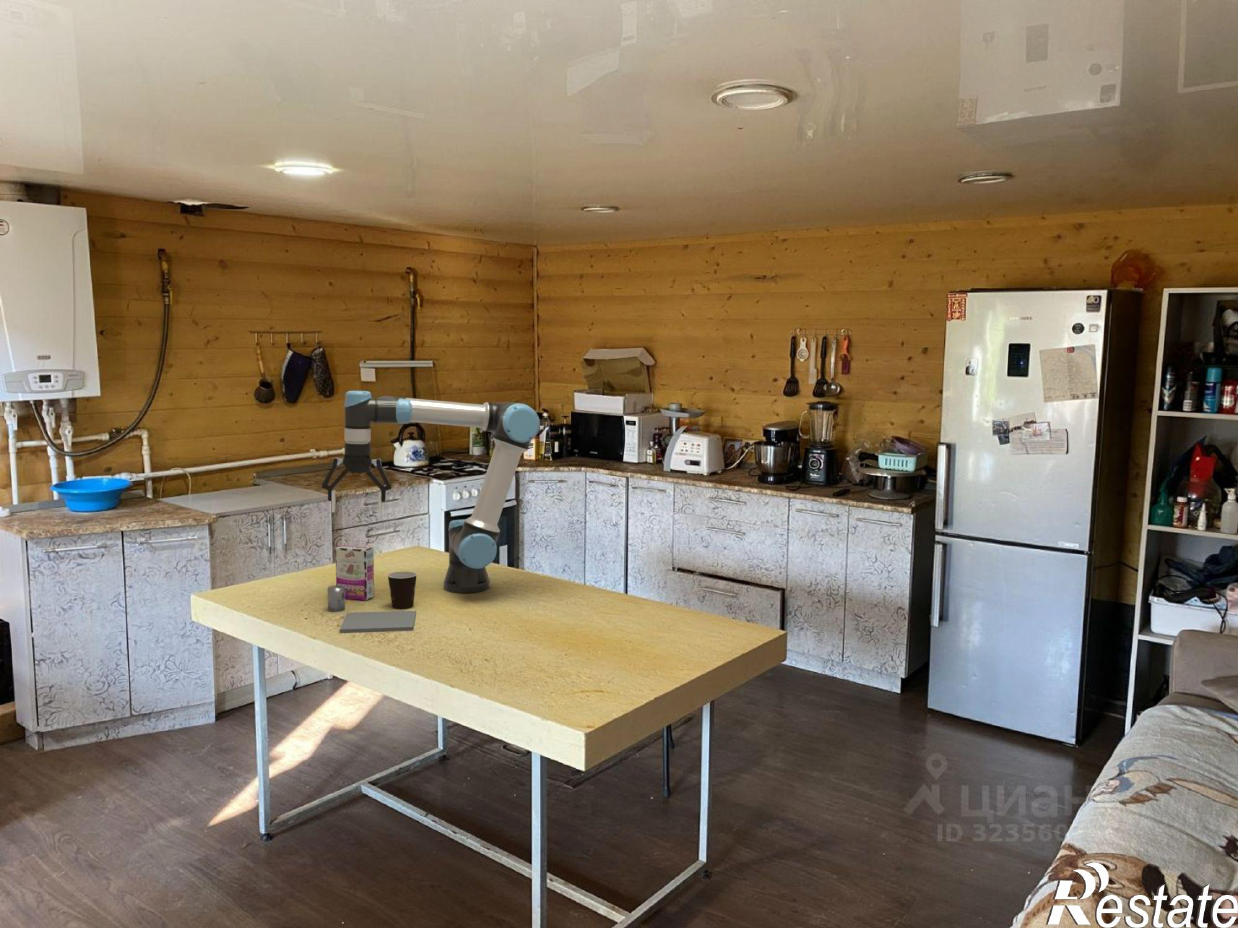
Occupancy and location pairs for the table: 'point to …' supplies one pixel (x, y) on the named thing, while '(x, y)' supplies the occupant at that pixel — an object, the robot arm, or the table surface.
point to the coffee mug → (402, 589)
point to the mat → (378, 621)
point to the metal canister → (336, 598)
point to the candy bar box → (355, 571)
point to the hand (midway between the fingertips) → (356, 512)
